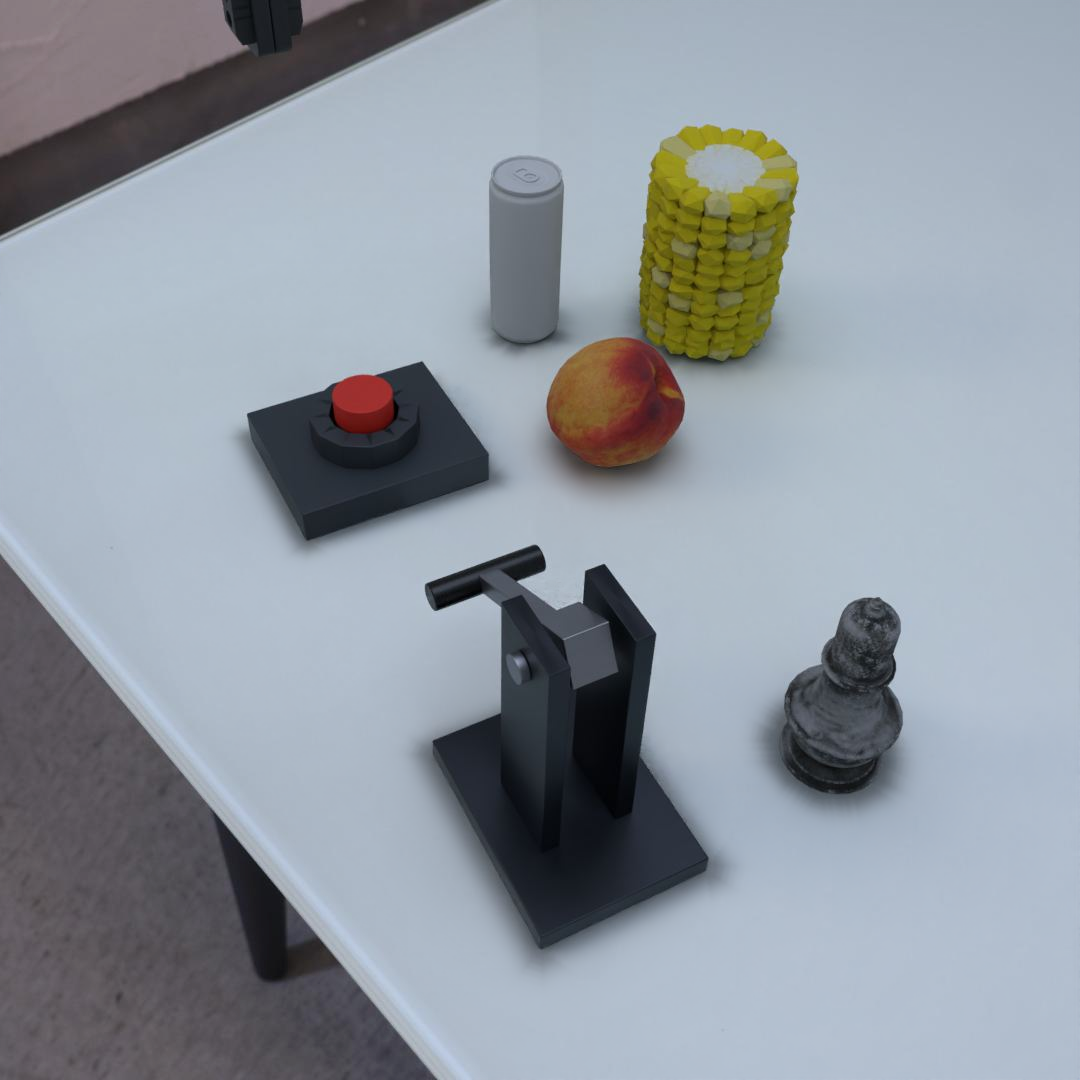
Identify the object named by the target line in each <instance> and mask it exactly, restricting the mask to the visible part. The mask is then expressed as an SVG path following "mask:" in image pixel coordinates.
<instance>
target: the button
mask: <svg viewBox="0 0 1080 1080" xmlns="http://www.w3.org/2000/svg"><path fill="white" fill-rule="evenodd" d="M340 381H341V382H340ZM340 381H338V382H339V383H338V384H337V385H336V387H335V388H334V390H333V393H332V399H333V408H334V416H335V421H336V423H337V424H338V425H339V426H340V427H341V428H342V429H343V430H345V431H347V432H350V433H358V434H371V433H374V432H377V431H380V430H383V429H384V428H386V427H387V426H388V425H389V424H390V423H391V422H392V420H393V417H394V404H393V392H392V388H391V386H390V385H389V383H388V382H386V381H385V380H384V379H382V378H380V377H377V376H374V375H373V374H355V375H350V376H348V377H346V378H344V379H342V380H340Z"/></svg>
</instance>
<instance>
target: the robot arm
mask: <svg viewBox="0 0 1080 1080" xmlns="http://www.w3.org/2000/svg"><path fill="white" fill-rule="evenodd" d="M221 2H222V9H223V10H222V11H223V17H224V21H225V23H226V25H227V26H228V27H229V30H230V31H231V33H232V34H233V35H234V37H235V38H236V40H238V42H239V43H240V44H241V45H242V46H244V47H245V46H247V47H248V49H249V50H250V51H251V52H252V54H253V55H254V57H255V58H257V59H258V58H262V57H267V56H272V55H277V54H283V53H288V52H292V50H293V42H292V41H293V40H292V37H294V36H300V35H301V31H302V27H303V23H304V17H303V9H302V0H221Z"/></svg>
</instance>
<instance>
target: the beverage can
mask: <svg viewBox="0 0 1080 1080" xmlns="http://www.w3.org/2000/svg"><path fill="white" fill-rule="evenodd" d="M490 175H491V176H490V179H489V183H488V236H489V237H488V241H489V243H488V244H489V245H488V247H489V249H488V251H489V252H488V253H489V289H490V290H489V293H490V295H489V297H490V298H489V300H490V301H489V302H490V323H491V325H492V327H493V329H494V330H495V331H496V332H497V333H498V335H500V336H501V337H502V338H503V339H505V340H507V341H510V342H513V343H518V344H532V343H536V342H539V341H542V340H544V339H545V338H548V336H550V335H551V334H552V333H553V332H554V331H555V330H556V328H557V327H558V323H559V320H560V319H559V318H560V317H559V315H560V291H561V267H562V249H563V248H562V245H563V221H564V220H563V219H564V199H565V198H564V196H565V183H564V180H563V172H562V169H561V168H560V166H559V165H558V164H556V163H555V162H554V161H553V160H550V159H548V158H545V157H542V156H537V155H531V154H530V155H529V154H528V155H527V154H525V155H524V154H523V155H514V156H510V157H507V158H504V159H502V160H500V161H498V162H497V163H496V164H494V166H493V167H492V169H491V171H490Z"/></svg>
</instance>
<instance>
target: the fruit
mask: <svg viewBox="0 0 1080 1080" xmlns="http://www.w3.org/2000/svg"><path fill="white" fill-rule="evenodd" d="M683 393H684V392H682V389H681V387H680V384H679V383H678V381H677V379H676V377H675V375H674V373H673V371H672V369H671V367H670V366H669V365H668V363H667V361H666V360H665V358H664V356H663V355H662V354H661V353H660V352H659V351H658V349H656V348H655V347H654V346H653V345H650V344H648V343H647V342H645V341H642V340H640V339H638V338H634V337H630V336H629V337H628V336H623V337H622V336H616V337H610V338H605V339H601V340H597V341H594V342H592V343H590V344H588V345H586V346H584V347H583V348H581V349H579V350H578V351H577V352H576V353H575V354H573V355H572V356H570V357H569V358H568V359H566V360H565V362H564V363H563V364H562V366H560V368H559V369H558V371H557V373H556V375H555V377H554V379H553V381H552V383H551V385H550V387H549V391H548V393H547V397H546V405H545V408H546V417H547V421H548V424H549V427H550V429H551V431H552V433H553V434H554V435H555V436H556V438H557V439H558V440H559V442H561V443H562V444H563V445H564V446H565V447H566V448H567V449H568V450H569V451H571V452H572V453H573V454H575V455H577V456H578V457H579V458H580V459H581V460H583V461H584V462H585V463H588V464H591V465H593V466H596V467H605V468H608V467H619V466H626V465H630V464H637V463H641V462H644V461H646V460H648V459H650V458H651V457H653V456H654V455H656V454H658V453H659V452H660V451H661V450H662V449H663V448H664V447H665V446H666V445H667V444H668V442H669V441H670V440H671V439H672V438H673V437H674V436H675V434H676V432H677V431H678V430H679V428H680V426H681V424H682V423H683V421H684V416H685V411H686V401H685V396H684V394H683Z"/></svg>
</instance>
